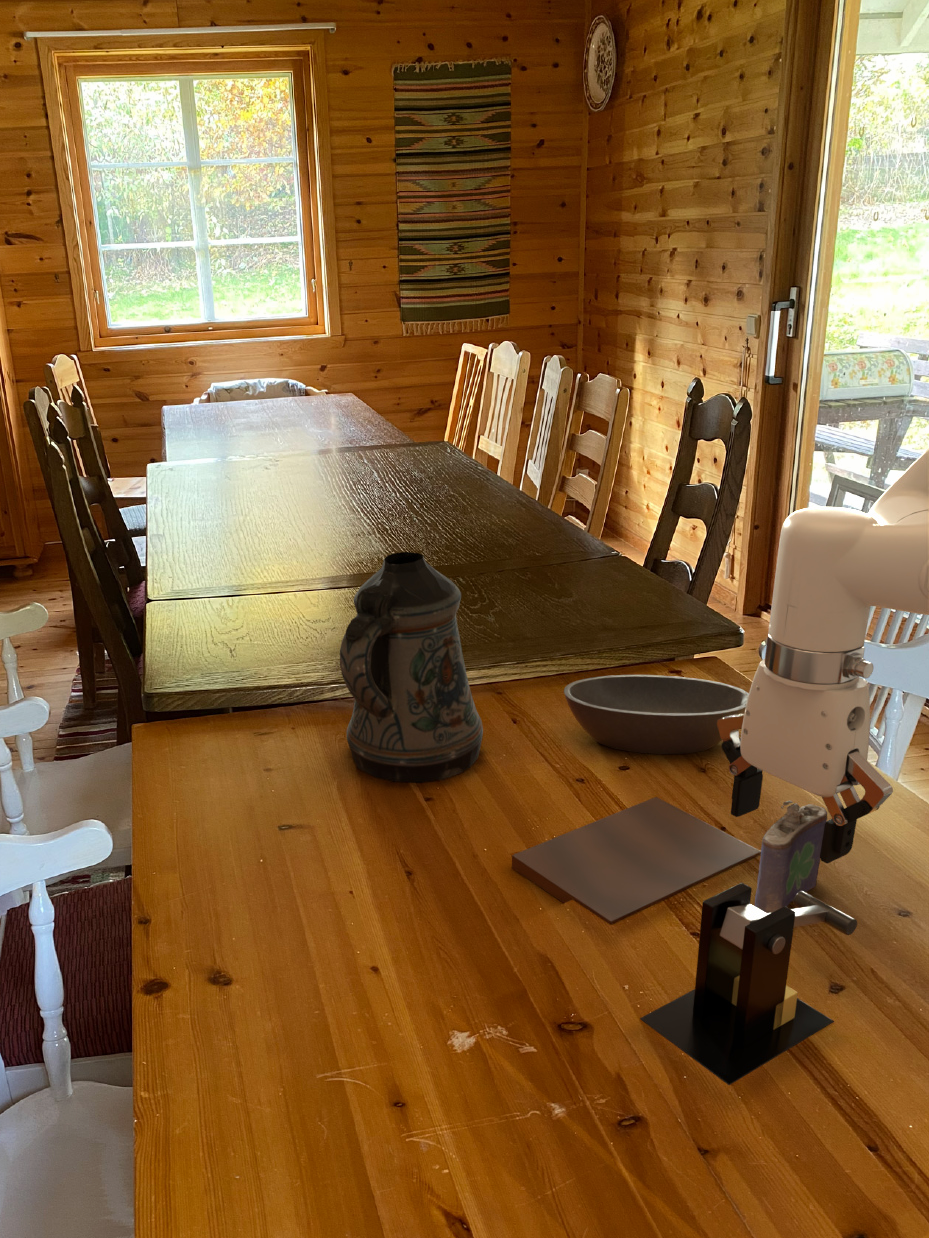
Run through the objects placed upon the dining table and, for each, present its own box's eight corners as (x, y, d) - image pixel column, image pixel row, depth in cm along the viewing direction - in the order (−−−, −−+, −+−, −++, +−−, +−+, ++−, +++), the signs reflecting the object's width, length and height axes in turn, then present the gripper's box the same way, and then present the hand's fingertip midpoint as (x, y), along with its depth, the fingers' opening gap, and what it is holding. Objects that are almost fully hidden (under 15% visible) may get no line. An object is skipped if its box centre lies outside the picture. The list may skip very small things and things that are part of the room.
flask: (771, 933, 98) (784, 829, 94) (742, 920, 100) (753, 818, 96) (822, 892, 104) (835, 791, 100) (792, 880, 106) (805, 781, 102)
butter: (743, 985, 90) (746, 960, 89) (794, 1018, 86) (798, 992, 85) (721, 997, 89) (724, 971, 88) (772, 1031, 85) (775, 1005, 84)
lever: (799, 910, 91) (807, 884, 91) (852, 940, 88) (861, 913, 87) (704, 927, 85) (712, 898, 84) (757, 959, 81) (766, 930, 80)
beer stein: (485, 725, 141) (484, 535, 131) (478, 799, 124) (476, 586, 114) (358, 723, 143) (348, 536, 134) (333, 795, 126) (319, 586, 116)
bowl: (565, 716, 143) (566, 671, 140) (743, 724, 138) (747, 678, 136) (559, 758, 132) (560, 710, 129) (752, 768, 127) (757, 719, 125)
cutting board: (655, 808, 120) (656, 796, 119) (759, 864, 109) (761, 851, 108) (511, 868, 110) (511, 855, 110) (610, 935, 99) (611, 921, 99)
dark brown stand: (741, 974, 93) (754, 855, 89) (832, 1033, 86) (852, 907, 82) (638, 1030, 88) (646, 905, 83) (727, 1098, 81) (742, 966, 76)
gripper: (935, 679, 87) (900, 863, 94) (759, 620, 101) (739, 785, 108) (877, 701, 84) (844, 891, 91) (702, 637, 97) (685, 807, 104)
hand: (787, 833), depth 99 cm, fingers open, 9 cm apart
